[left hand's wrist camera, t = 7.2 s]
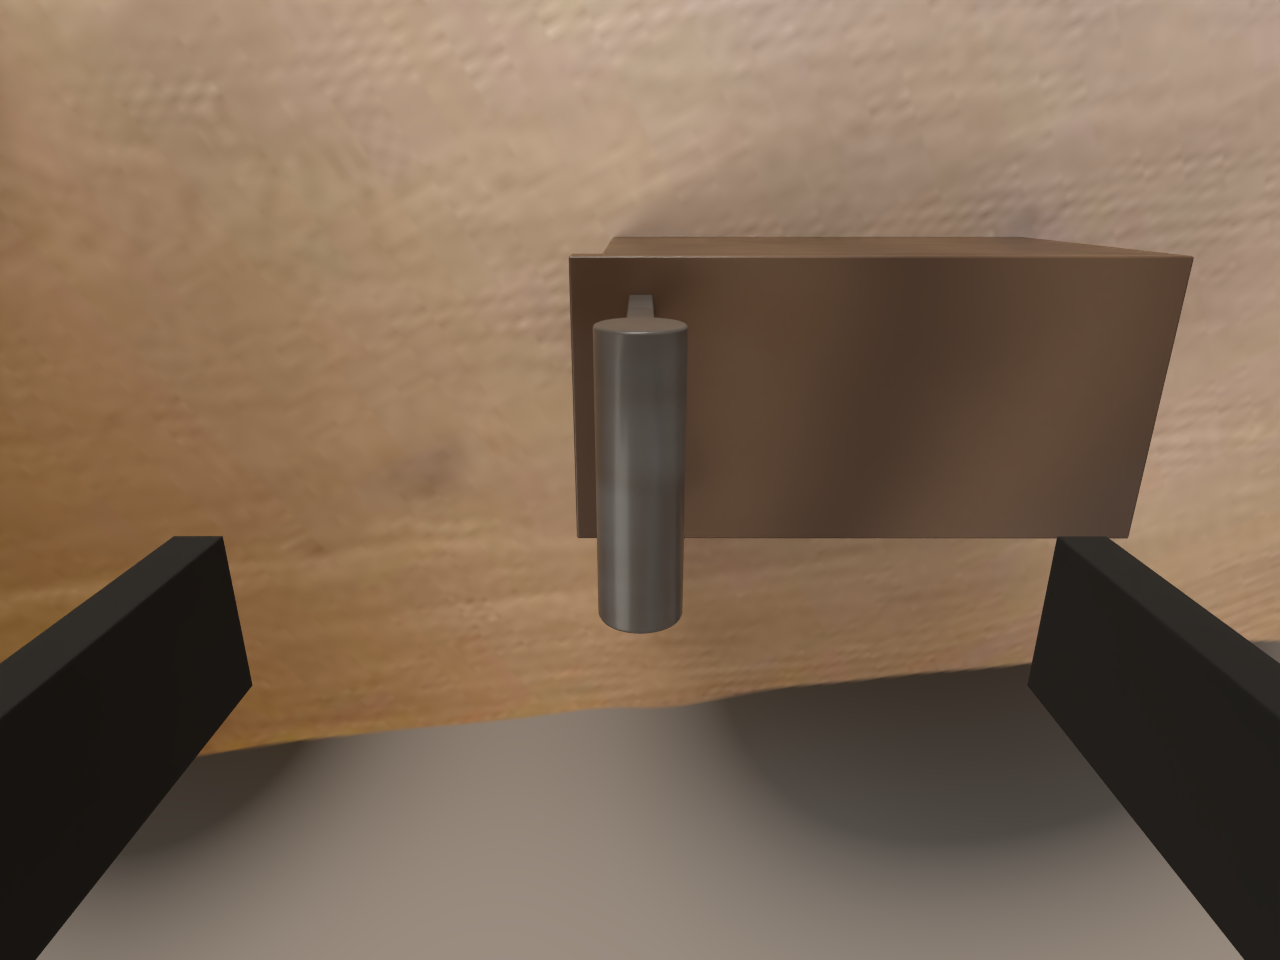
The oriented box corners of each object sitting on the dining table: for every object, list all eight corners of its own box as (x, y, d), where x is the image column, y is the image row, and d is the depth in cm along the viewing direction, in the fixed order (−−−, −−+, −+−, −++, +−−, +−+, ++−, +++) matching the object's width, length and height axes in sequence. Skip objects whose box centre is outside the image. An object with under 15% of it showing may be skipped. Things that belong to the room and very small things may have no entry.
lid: (579, 526, 27) (552, 669, 19) (571, 253, 24) (535, 284, 16) (1111, 526, 27) (1314, 669, 19) (1172, 253, 24) (1447, 284, 16)
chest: (615, 440, 37) (606, 525, 27) (613, 237, 34) (601, 253, 24) (989, 440, 37) (1110, 526, 27) (1021, 237, 34) (1171, 253, 24)
